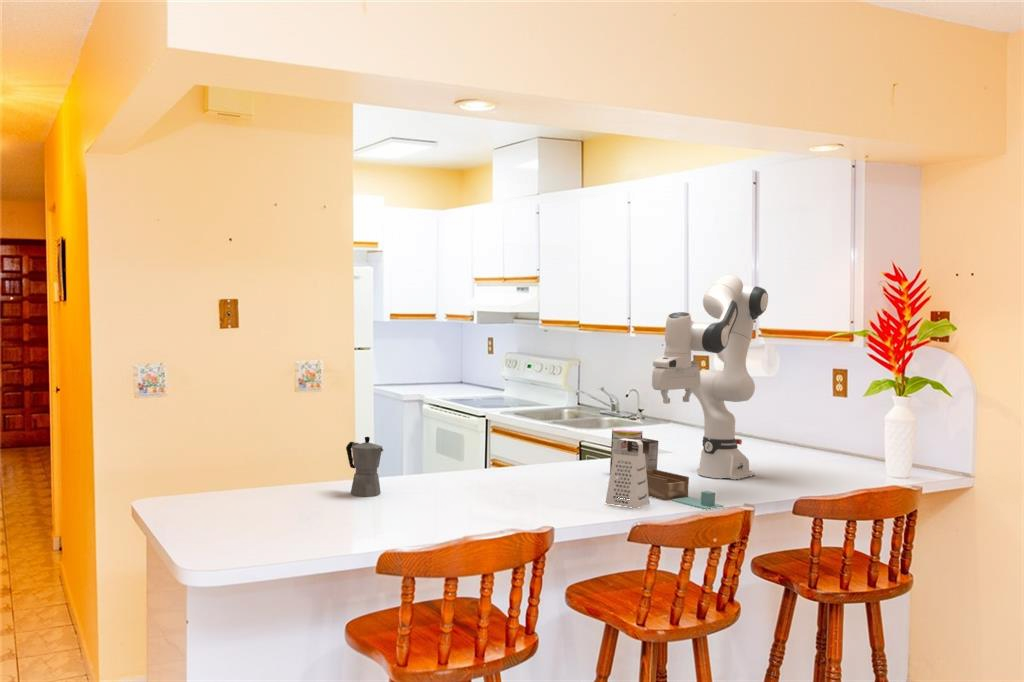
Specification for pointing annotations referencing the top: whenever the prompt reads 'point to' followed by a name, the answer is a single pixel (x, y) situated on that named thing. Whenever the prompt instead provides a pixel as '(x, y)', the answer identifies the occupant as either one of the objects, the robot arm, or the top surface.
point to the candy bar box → (621, 434)
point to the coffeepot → (365, 468)
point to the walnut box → (666, 485)
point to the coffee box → (646, 451)
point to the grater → (628, 477)
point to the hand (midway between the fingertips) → (676, 402)
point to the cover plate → (700, 501)
